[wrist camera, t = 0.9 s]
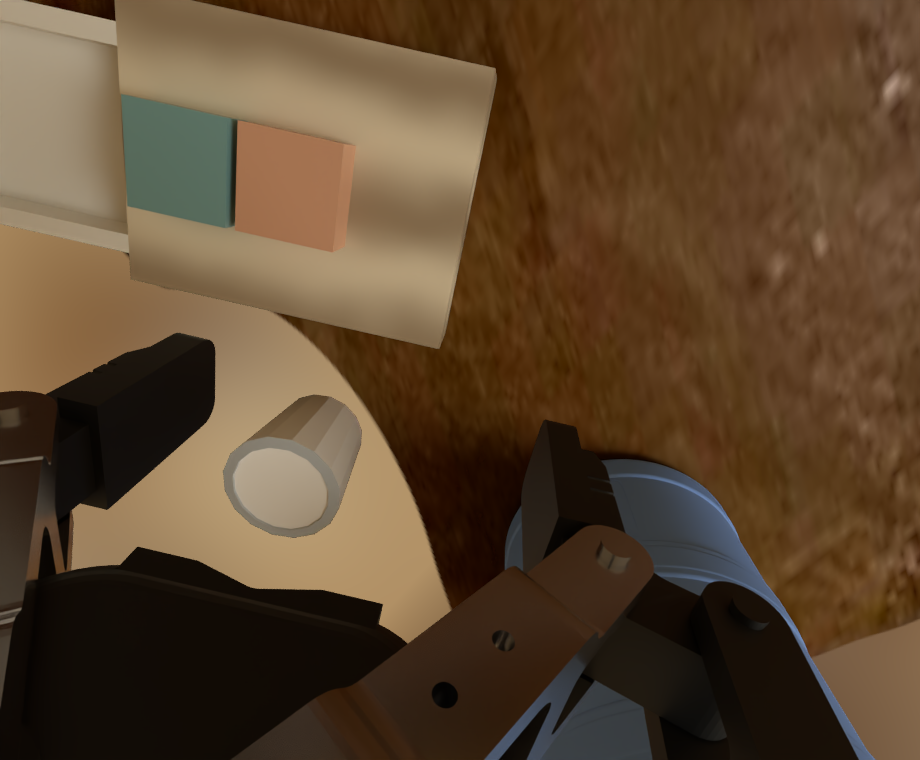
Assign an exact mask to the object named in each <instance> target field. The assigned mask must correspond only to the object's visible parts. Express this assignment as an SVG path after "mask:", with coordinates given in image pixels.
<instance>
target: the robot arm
mask: <svg viewBox="0 0 920 760" xmlns="http://www.w3.org/2000/svg"><path fill="white" fill-rule="evenodd" d="M214 402H215V347H214V344H213V342H212V341H210V340H207V339H203V338H199V337H194V336H190V335H186V334H181V333H175V334H173V335H171V336H169V337H167V338H166V339H164V340H162V341H160V342H158V343H156V344H154V345H153V346H151V347H147V348H143V349H140V350H135V351H131V352H127V353H124V354H122V355H121V356H119V357H117V358H115V359H113V360H111V361H109V362H108V364H103V365H101V366H99V367H97V368H95V369H94V370H93V372H88V373H86V374H84V375H82V376H80V377H78V378H77V379H74V380H72V381H70V382H69V383H67V384H65V385H63V386H61V387H59V388H57V389H55V390H53V391H51V392H49V393H47V394H46V395H45V394H42V393H36V392H29V391H9V392H0V760H541V758H542V757H543V755H544V754H545V752H546V751H547V749H548V748H549V747H550V745H551V744H552V743H553V741H554V740H555V739H556V738H557V736H558V735H559V734H560V732H561V731H562V730H563V728H564V727H565V726H566V724H567V723H568V722H569V720H570V719H571V718H572V716H573V715H574V714H575V712H576V711H577V710H578V709H579V707H580V706H581V705H582V703H583V702H584V701H585V699H586V698H587V697H588V695H589V694H590V693H591V691H592V690H593V689H594V687H595V686H596V685H597V683H598V682H599V683H601V684H603V685H604V686H606V687H608V688H610V689H612V690H613V691H615V692H617V693H619V694H621V695H622V696H624V697H626V698H628V699H630V700H631V701H633V702H635V703H637V704H639V705H640V706H642V707H643V709H644V714H645V720H646V725H647V731H648V737H649V742H650V748H651V754H652V759H653V760H859V759H858V757H857V755H856V753H855V751H854V749H853V747H852V745H851V743H850V741H849V740H848V738H847V736H846V734H845V732H844V730H843V728H842V726H841V724H840V722H839V720H838V718H837V717H836V715H835V713H834V711H833V709H832V707H831V705H830V703H829V701H828V699H827V697H826V695H825V694H824V692H823V690H822V688H821V686H820V684H819V682H818V680H817V678H816V676H815V674H814V672H813V671H812V669H811V667H810V665H809V663H808V661H807V659H806V657H805V655H804V653H803V651H802V649H801V648H800V646H799V644H798V642H797V640H796V638H795V636H794V634H793V632H792V630H791V628H790V627H789V625H788V623H787V622H786V620H785V619H784V618H783V616H782V615H781V614H780V613H779V612H778V611H777V610H776V609H775V608H774V607H773V606H772V605H771V604H770V603H769V602H767V601H766V600H765V599H764V598H762V597H761V596H759V595H758V594H756V593H755V592H753V591H751V590H749V589H747V588H745V587H743V586H740V585H738V584H735V583H731V582H726V581H714V582H711V583H709V584H708V585H706V587H705V588H704V590H703V592H702V593H701V595H700V596H699V595H697V594H695V593H692V592H690V591H688V590H686V589H684V588H682V587H680V586H678V585H675V584H673V583H671V582H669V581H667V580H665V579H663V578H662V577H660V576H658V575H657V574H655V573H654V564H653V561H652V559H651V557H650V555H649V553H648V552H647V551H646V549H645V548H644V547H643V546H642V545H641V544H640V543H639V542H638V541H636V540H635V539H634V538H632V537H631V536H629V535H627V534H626V533H625V529H624V526H623V523H622V519H621V516H620V512H619V509H618V506H617V502H616V499H615V496H613V494H614V492H613V489H612V485H611V484H610V479H609V475H608V472H607V469H606V466H605V465H604V464H603V463H602V461H601V460H600V459H599V458H598V457H597V456H596V454H595V453H594V452H591V451H587V450H583V449H581V446H580V442H579V438H578V433H577V429H576V427H574V426H570V425H566V424H561V423H557V422H553V421H549V420H544V421H543V423H542V425H541V428H540V431H539V434H538V437H537V440H536V443H535V446H534V449H533V452H532V455H531V458H530V462H529V465H528V468H527V471H526V474H525V478H524V482H523V487H522V494H521V511H522V552H523V571H522V570H521V569H519V568H518V567H517V566H512V567H509V568H507V569H506V570H504V571H503V572H502V573H500V574H499V575H498V576H496V577H495V578H494V579H493V580H491V581H490V582H489V583H487V584H486V585H485V586H483V587H482V588H481V589H479V590H478V591H477V592H475V593H474V594H473V595H471V596H470V597H469V598H468V599H466V600H465V601H464V602H462V603H461V604H460V605H458V606H457V607H456V608H454V609H453V610H452V611H450V612H449V613H448V614H447V615H445V616H444V617H443V618H441V619H440V620H439V621H437V622H436V623H435V624H433V625H432V626H431V627H429V628H428V629H427V630H426V631H424V632H423V633H421V634H420V635H419V636H418V637H416V638H415V639H414V640H412V641H411V642H410V643H408V644H407V643H406V642H405V641H404V640H403V639H402V638H400V637H399V636H397V635H396V634H394V633H393V632H391V631H390V630H388V629H387V628H385V627H383V626H381V625H379V620H380V615H381V611H382V606H383V604H380V603H376V602H372V601H367V600H363V599H359V598H355V597H350V596H346V595H342V594H337V593H333V592H329V591H325V590H292V589H290V590H289V589H287V590H286V589H255V588H250V587H248V586H246V585H244V584H242V583H240V582H238V581H236V580H234V579H232V578H230V577H228V576H226V575H225V574H223V573H221V572H218V571H217V570H215V569H213V568H211V567H209V566H207V565H205V564H203V563H201V562H199V561H197V560H192V559H188V558H184V557H180V556H175V555H171V554H167V553H162V552H158V551H153V550H150V549H145V548H141V547H137V548H136V549H135V550H134V551H133V552H132V553H131V554H130V555H129V556H128V557H127V558H126V560H124V561H123V563H122V564H121V565H108V566H96V567H88V568H82V569H76V570H72V571H71V564H72V545H73V524H74V523H73V515H72V509H74V508H75V507H76V506H77V505H78V504H80V503H81V504H85V505H89V506H94V507H98V508H102V509H106V510H107V509H109V508H110V507H111V506H112V505H113V504H115V503H116V502H117V501H118V500H119V499H120V498H121V497H123V496H124V495H125V494H126V493H127V492H128V491H129V490H130V489H132V488H133V487H134V486H135V485H136V484H137V483H138V482H140V481H141V480H142V479H143V478H144V477H145V476H146V475H148V474H149V473H150V472H151V471H152V470H153V469H154V468H155V467H157V466H158V465H159V464H160V463H161V462H162V461H163V460H164V459H166V458H167V457H168V456H169V455H170V454H171V453H172V452H174V451H175V450H176V449H177V448H178V447H179V446H180V445H181V444H183V443H184V442H185V441H186V440H187V439H188V438H189V437H190V436H192V435H193V434H194V433H195V432H196V431H197V430H198V429H200V427H202V426H203V425H204V424H205V423H206V422H207V420H208V419H209V417H210V415H211V413H212V410H213V407H214Z"/></svg>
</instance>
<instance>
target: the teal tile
mask: <svg viewBox="0 0 920 760" xmlns="http://www.w3.org/2000/svg"><path fill="white" fill-rule="evenodd" d="M121 103H122V121H123V138H124V155H125V173H126V190H127V206H129V207H133V208H138V209H142V210H146V211H151V212H155V213H160V214H164V215H169V216H173V217H177V218H182V219H186V220H191V221H195V222H200V223H204V224H208V225H213V226H217V227H222V228H229V227H233V226H235V206H236V166H237V125H238V120H240V119H236V118H231V117H227V116H222V115H218V114H214V113H209V112H205V111H200V110H196V109H191V108H187V107H182V106H178V105H173V104H169V103H165V102H160V101H156V100H151V99H146V98H141V97H135V96H130V95H124V94H121ZM240 121H245V120H240ZM246 122H248V121H246Z"/></svg>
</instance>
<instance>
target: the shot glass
mask: <svg viewBox="0 0 920 760" xmlns="http://www.w3.org/2000/svg"><path fill="white" fill-rule="evenodd" d="M361 434H362V430H361V427H360V425H359V422H358V420H357V418H356V416H355V415H354V414H353V413H352V412H351V410H350V409H349V408H348V407H347V406H346V405H345V404H343V403H341V402H339V401H337V400H335V399H334V398H332V397H327V396H321V395H311V396H306V397H302V398H299V399H298V400H297V401H295V402H294V403H293V404H292V405H290V406H289V407H288V408H287V409H285V410H284V411H283V412H282V413H280V414H279V415H278V416H277V417H275V418H274V419H273V420H272V421H270V422H269V423H268V424H267V425H265V426H264V427H263V428H262V429H261V430H259V431H258V432H257V433H256V434H254V435H253V436H252V437H251V438H249V439H248V440H247V441H246V442H245V443H243V444H242V445H241V446H239V447H238V448H237V449H236V450H234V451H233V452H232V453H231V454H230V456H229V459H228V461H227V463H226V466H225V468H224V470H223V474H224V486H225V492H226V493H227V495H228V497H229V499H230V501H231V503H232V504H233V507H234V508H235V510H236V511H237V512H238V513H240V514H241V515H242V516H243V517H244V518H245V519H246V520H247V521H248V522H249V523H250V524H252V525H254V526H256V527H258V528H260V529H262V530H264V531H266V532H268V533H270V534H273V535H279V536H286V537H292V538H296V537H301V536H307V535H312V534H315V533H317V532H318V531H320V530H321V529H323V528H324V527H326V526H327V525H329V524H330V523H331V521H332V520H333V518H334V516H335V514H336V513H337V511H338V509H339V506H340V504H341V501H342V498H343V495H344V492H345V489H346V486H347V483H348V481H349V478H350V475H351V472H352V469H353V466H354V463H355V460H356V457H357V454H358V452H359V449H360V446H361Z"/></svg>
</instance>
